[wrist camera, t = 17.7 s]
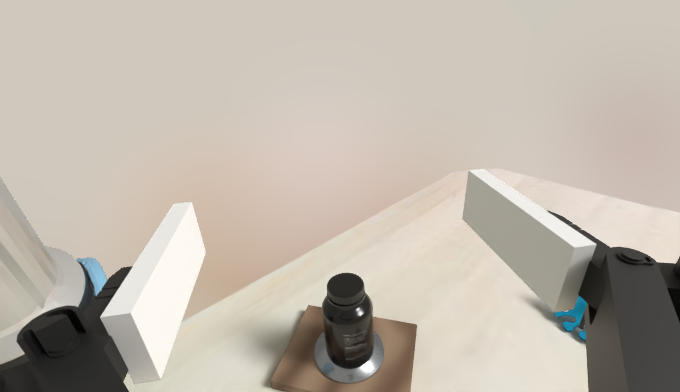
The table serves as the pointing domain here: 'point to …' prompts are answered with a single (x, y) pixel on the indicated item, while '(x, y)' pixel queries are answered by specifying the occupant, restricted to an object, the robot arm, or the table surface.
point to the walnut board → (339, 383)
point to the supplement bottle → (348, 321)
